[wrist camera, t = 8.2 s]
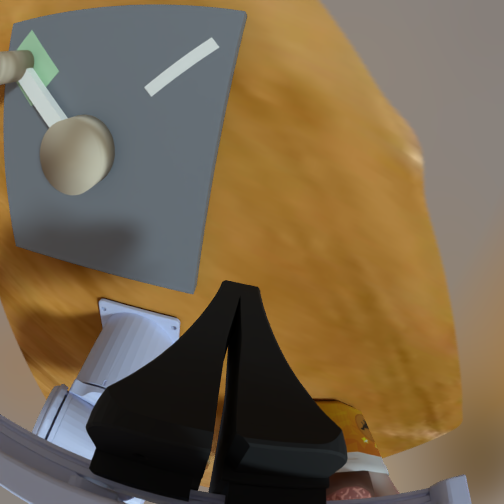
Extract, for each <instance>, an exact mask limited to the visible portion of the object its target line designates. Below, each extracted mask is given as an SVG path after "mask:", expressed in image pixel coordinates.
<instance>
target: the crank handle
mask: <svg viewBox="0 0 504 504" xmlns="http://www.w3.org/2000/svg"><path fill="white" fill-rule="evenodd" d="M33 67H34V56H33V54H32V52H31V51H29V50H17V51H4V52H0V85H2V84H7V83H12V82H17V81H18V82H19V83H20V85H21V86H22V88H23V89H24V91H25V92H26V94H27V96H28V97H29V99H30V100H31V102H32V103H33V105H34V106H35V108H36V109H37V110H38V112H39V113H40V115H41V116H42V118H43V119H44V121H45V122H46V124H47V125H48V126H49V129H48V130H47V132H46V133H45V135H44V137H43V139H42V142H41V147H40V162H41V167H42V170H43V172H44V175H45V177H46V178H47V180H48V181H49V183H50V184H51V185H52V186H53V187H54V188H55V189H56V190H58V191H59V192H61V193H64V194H67V195H79V194H82V193H84V192H86V191H87V190H89V189H90V188H91V187H93V186H94V185H96V184H97V183H98V182H100V181H101V180H103V179H104V178H105V177H106V176H107V175H108V173H109V172H110V170H111V168H112V165H113V162H114V157H115V146H114V141H113V138H112V135H111V133H110V131H109V129H108V128H107V126H106V125H105V124H104V123H103V122H102V121H101V120H100V119H98V118H96V117H94V116H91V115H86V114H85V115H77V116H74V117H71V118H67V116H66V115H65V114H64V112H63V111H62V109H61V108H60V107H59V105H58V104H57V102H56V101H55V99H54V98H53V97H52V95H51V94H50V92H49V91H48V89H47V88H46V87H45V85H44V84H43V82H42V81H41V79H40V78H39V76H38V75H37V73H36V72H35V70H34V69H33Z"/></svg>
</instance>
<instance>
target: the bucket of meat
mask: <svg viewBox="0 0 504 504" xmlns="http://www.w3.org/2000/svg"><path fill="white" fill-rule="evenodd" d="M315 402H316V404H317V405H318V406H319V407H320V408H321V409H322V411H323V412H324V413H325V414H326V415H327V416H328V417H329V418H330V419H331V420H333V421H334V422H335V423H336V424H337V425H338V426H339V427H340V428H341V429H342V431H343V435H344V439H345V443H346V447H347V457H348V459H347V463H346V464H345V465H344V466H343V467H342V468H341V469H339V470H338V471H337V472H335V473H334V474H332V475H331V476H329V483H330V486H329V488H327V489H326V501H334V500H350V499H362V498H372V497H380V496H387V495H394V494H400V493H399V492H398V490H397V489H396V487H395V486H394V484H393V483H392V481H391V480H390V478H389V473H388V470H387V467H386V466H385V464H384V463H383V460H382V458H381V456H380V453H379V451H378V449H377V446H376V444H375V442H374V440H373V437H372V435H371V433H370V431H369V428H368V426H367V424H366V422H365V419H364V417H363V415H362V413H361V411H359V410H357V409H355V408H353V407H351V406H349V405H346V404H344V403H342V402H339V401H315Z"/></svg>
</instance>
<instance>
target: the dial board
mask: <svg viewBox="0 0 504 504" xmlns="http://www.w3.org/2000/svg"><path fill="white" fill-rule="evenodd" d="M246 18H247V14H246V12H245V11H239V10H231V9H223V8H213V7H202V6H187V5H126V6H111V7H100V8H91V9H83V10H76V11H70V12H64V13H58V14H53V15H48V16H43V17H38V18H34V19H30V20H26V21H22V22H18V23H15V24H13V29H12V35H11V41H10V47H9V51H17V50H29V51H31V52H32V54H33V56H34V67H33V69H34V70H35V72H36V73H37V75H38V76H39V78H40V79H41V81H42V82H43V84H44V85H45V87H46V88H47V89H48V91H49V92H50V94H51V95H52V97H53V98H54V99H55V101H56V102H57V104H58V105H59V107H60V108H61V109H62V111H63V112H64V114H65V115H66V116H67V118H71V117H74V116H77V115H85V114H86V115H91V116H94V117H96V118H98V119H100V120H101V121H102V122H103V123H104V124H105V125H106V126H107V128H108V129H109V131H110V133H111V135H112V138H113V141H114V146H115V157H114V162H113V165H112V168H111V170H110V172H109V173H108V175H107V176H106V177H105V178H104V179H103V180H101V181H100V182H98V183H97V184H96V185H94V186H93V187H91V188H90V189H89V190H87V191H86V192H84V193H82V194H79V195H67V194H64V193H61V192H59V191H58V190H56V189H55V188H54V187H53V186H52V185H51V184H50V183H49V181H48V180H47V178H46V177H45V175H44V172H43V170H42V167H41V162H40V147H41V142H42V139H43V137H44V135H45V133H46V132H47V130H48V129H49V126H48V125H47V124H46V122H45V121H44V119H43V118H42V116H41V115H40V113H39V112H38V110H37V109H36V108H35V106H34V105H33V103H32V102H31V100H30V99H29V97H28V96H27V94H26V92H25V91H24V89H23V88H22V86H21V85H20V83H19V82H18V81H17V82H12V83H7V84H5V96H4V157H5V172H6V183H7V192H8V201H9V208H10V215H11V221H12V227H13V233H14V238H15V243H16V246H18V247H21V248H24V249H27V250H30V251H33V252H37V253H40V254H43V255H46V256H50V257H53V258H56V259H60V260H63V261H67V262H70V263H73V264H77V265H80V266H84V267H88V268H91V269H95V270H98V271H102V272H106V273H109V274H113V275H117V276H121V277H125V278H128V279H132V280H136V281H140V282H144V283H148V284H152V285H156V286H160V287H164V288H168V289H173V290H177V291H181V292H185V293H190V294H194V291H195V288H196V285H197V278H198V270H199V263H200V256H201V249H202V242H203V236H204V229H205V223H206V216H207V210H208V204H209V198H210V192H211V186H212V180H213V175H214V169H215V163H216V158H217V152H218V147H219V142H220V136H221V131H222V126H223V121H224V116H225V111H226V106H227V101H228V97H229V92H230V87H231V83H232V78H233V73H234V69H235V64H236V60H237V56H238V51H239V47H240V43H241V39H242V34H243V30H244V26H245V22H246Z"/></svg>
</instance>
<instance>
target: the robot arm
mask: <svg viewBox="0 0 504 504" xmlns="http://www.w3.org/2000/svg"><path fill="white" fill-rule="evenodd" d="M104 307H105V308H104ZM99 308H100V315H101V321H102V327H103V329H102V331H101V333H100V335H99V336H98V338H97V340H96V342H95V344H94V346H93V347H92V349H91V351H90V353H89V355H88V357H87V359H86V361H85V363H84V364H83V366H82V368H81V370H80V372H79V374H78V376H77V378H76V379H75V380H74V382H73V384H72V386H71V388H70V390H69V391H67V389H68V387H67V386H66V385H65V384H61V386H60V385H59V386H55V387H54V388H53V389H52V391H51V393H50V395H49V396H48V398H47V400H46V402H45V404H44V406H43V408H42V410H41V413H40V415H39V417H38V419H37V422H36V424H35V426H34V428H33V431H32V433H31V432H29V431H28V430H26V429H24V428H22V427H21V426H19V425H17V424H15V423H14V422H12V421H10V420H9V419H7V418H5V417H4V416H2V415H1V414H0V486H2V487H3V488H5V489H7V490H8V491H10V492H11V493H13V494H14V495H16V496H17V497H19V498H20V499H22V500H24V501H25V502H27V503H29V504H143V503H144V501H145V500H146V501H149V502H153V503H157V504H471V500H470V494H469V489H468V485H467V480H466V476H465V475H464V474H463V475H459V476H456V477H452V478H449V479H445V480H442V481H440V482H438V483H436V484H434V485H432V486H431V487H430V488H427V489H422V490H417V491H412V492H407V493H401V494H394V495H387V496H380V497H372V498H362V499H350V500H334V501H326V489H327V488H329V486H330V483H329V476H331V475H332V474H334V473H335V472H337V471H338V470H339V469H341V468H342V467H343V466H344V465H345V464H346V463H347V459H348V457H347V447H346V443H345V439H344V435H343V431H342V429H341V428H340V427H339V426H338V425H337V424H336V423H335V422H334V421H333V420H331V419H330V418H329V417H328V416H327V415H326V414H325V413H324V412H323V411H322V409H321V408H320V407H319V406H318V405H317V404H316V402H315V401H314V400H313V399H312V398H311V396H310V395H309V394H308V392H307V391H306V390H305V388H304V387H303V386H302V384H301V383H300V382H299V380H298V379H297V377H296V376H295V374H294V372H293V371H292V369H291V368H290V366H289V364H288V363H287V361H286V359H285V357H284V355H283V353H282V351H281V350H280V347H279V345H278V343H277V341H276V339H275V337H274V334H273V332H272V329H271V327H270V324H269V321H268V319H267V316H266V313H265V310H264V306H263V303H262V299H261V294H260V290H259V288H258V287H255V286H251V285H246V284H241V283H236V282H232V281H227V280H225V281H223V282H222V284H221V286H220V288H219V290H218V292H217V294H216V295H215V297H214V298H213V300H212V301H211V303H210V304H209V305H208V307H207V308H206V309H205V311H204V312H203V313H202V314H201V316H200V317H199V318H198V319H197V320H196V321H195V322H194V324H193V325H192V326H191V327H190V328H189V329H188V330H187V331H186V332H185V333H184V334H183V335H182V336H181V337H180V338H179V333H180V321H179V320H178V319H177V318H174V317H170V316H166V315H162V314H158V313H154V312H150V311H147V310H143V309H139V308H135V307H132V306H128V305H124V304H121V303H117V302H114V301H110V300H107V299H103V298H102V299H101V300H100V301H99ZM173 326H175V327H173ZM227 347H228V356H227V371H226V388H225V399H224V407H223V413H222V419H221V425H220V431H219V436H218V442H217V448H216V454H215V460H214V465H213V471H212V476H211V482H210V487H209V493H207V492H202V491H198V488H199V485H200V482H201V479H202V477H203V474H204V471H205V468H206V465H207V462H208V459H209V455H210V452H211V446H212V440H213V434H214V426H215V418H216V410H217V402H218V395H219V388H220V381H221V374H222V367H223V361H224V358H225V354H226V351H227Z"/></svg>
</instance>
